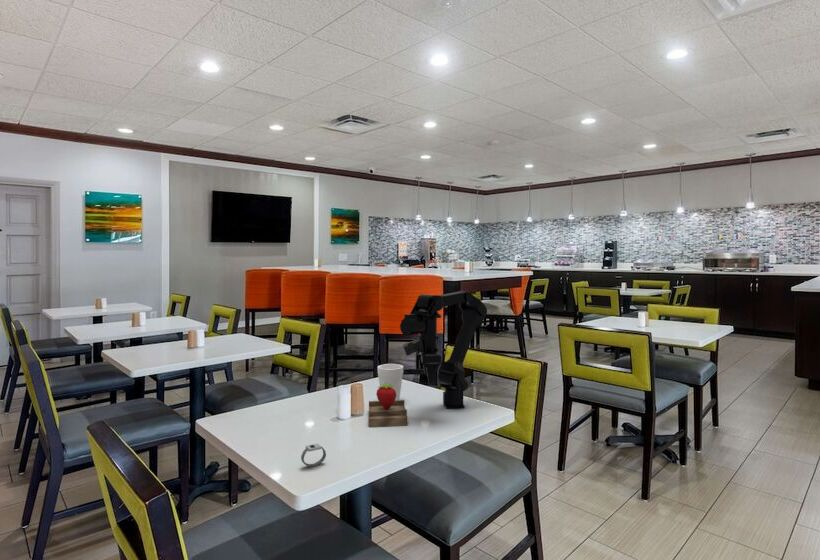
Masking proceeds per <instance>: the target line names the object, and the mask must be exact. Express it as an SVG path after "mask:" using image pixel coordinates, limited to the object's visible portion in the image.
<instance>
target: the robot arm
mask: <svg viewBox="0 0 820 560" xmlns="http://www.w3.org/2000/svg"><path fill="white" fill-rule="evenodd" d="M453 305H458V306H459V309H460V310H461V311H462V313H461V319H462V324H461V327H460V331H459V333H458V335H457V338H456V340H455V343H454V346H453V348H452V351H451V353H450V357H449V358H448V359H447V360H446V361H445V360H443V359H442V358H443V357H442V355H441V354H440V353H439V348H438V340H439V336H438V319H441V318H442V315H441V314H440V313H439V312H440V311H442V310H443V308H444V307H449V306H453ZM487 313H488V309H487V307H486V305H485V303H483V302H482V300H481V299H480V298H477V297H476V296H474V294H473V293H472V292H471V291H468V290H458V291H455V292H450V293H443V294H436V295H435V294H423V293H422V294H420V295H418V297H417V300H416V301H415V303H414V305H413V307H412V309H411V312H410V314H409V313H406V314H404V318H403V319H402V320H401V321H400V323H399V328H400V329H399V330H400V332H401V333H402V335H403V336H406V337H407V336H414V335H417V339H415V340H411V341H409V342H405V343H404V344H402V348H403V350H404V353H405V355H406V357H407V356H410V355H412V354H414V353H417V354H416V355H417V356H418V357H419V358H420V360H421V365H422V367H423V371H424V375H425V376H427V380H428V383H433V381H434V379H435V377H436V374H437V378H438V382H439V385H440V388H441V389H442V388H443V389H444V391H442V403H443V405H444V407H445V408H446V409H464V408H465V404H464V392H465V391H466V390H467V389H468V386H469V383H468V382H467V380H466V379H465V378H464V374H465V370H464V361H465V359H466V356H467V353H468V351H469V348H470V344H471V342H472V340H473V337H474V335H475V332H476V329H477V328H478V327H479V326H480V325H481V324H482V323H483V321H484V320H485V318H486V317H487ZM442 360H443V361H442ZM437 372H438V373H437Z"/></svg>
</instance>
